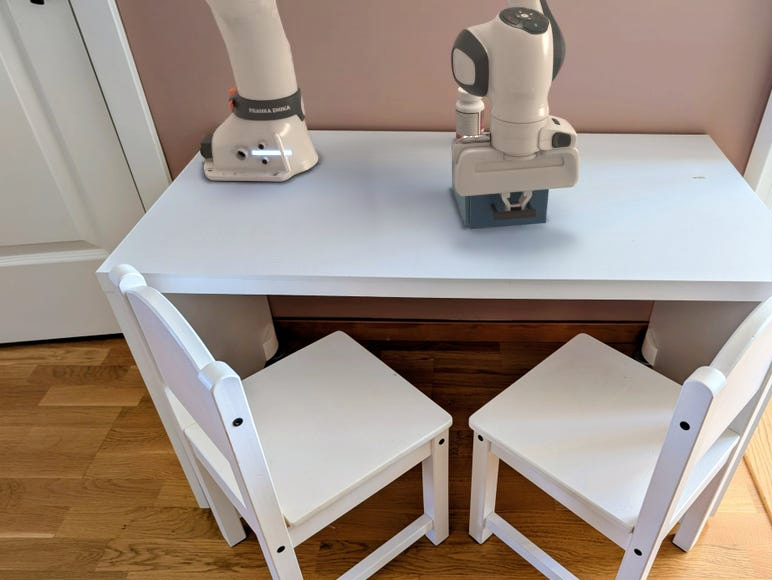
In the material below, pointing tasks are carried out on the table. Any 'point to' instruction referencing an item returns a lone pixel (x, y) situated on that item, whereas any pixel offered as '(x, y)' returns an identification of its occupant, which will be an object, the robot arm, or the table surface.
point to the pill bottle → (469, 114)
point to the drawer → (492, 211)
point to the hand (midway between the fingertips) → (514, 213)
